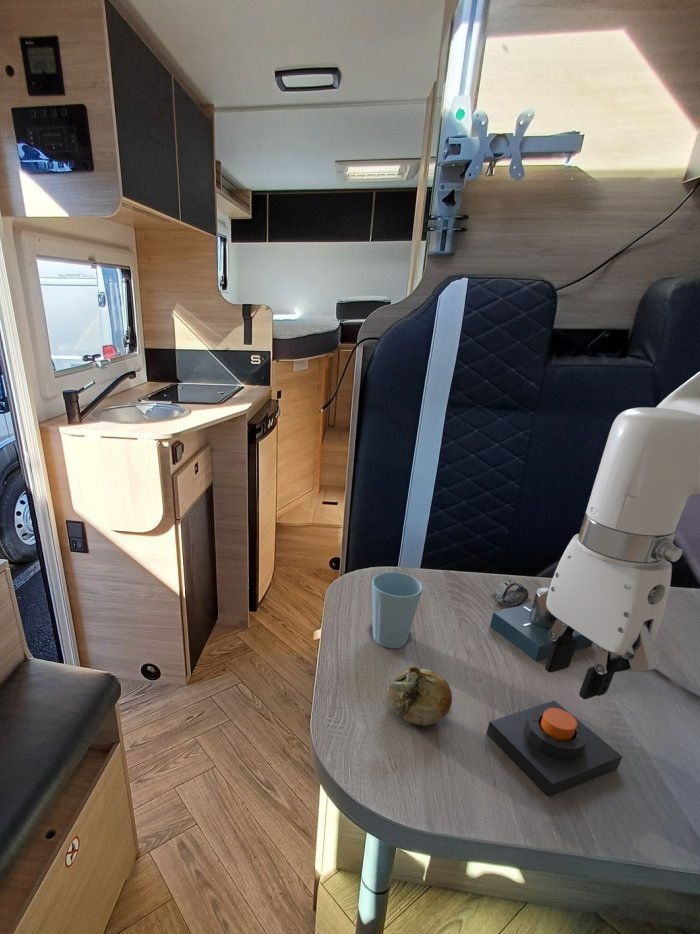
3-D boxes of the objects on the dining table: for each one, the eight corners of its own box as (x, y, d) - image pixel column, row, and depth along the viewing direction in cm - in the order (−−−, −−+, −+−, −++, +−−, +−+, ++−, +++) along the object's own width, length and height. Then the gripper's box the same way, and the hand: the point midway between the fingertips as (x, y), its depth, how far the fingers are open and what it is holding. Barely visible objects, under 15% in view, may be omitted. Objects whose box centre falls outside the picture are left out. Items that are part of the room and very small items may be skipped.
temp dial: (523, 616, 86) (530, 588, 84) (543, 611, 87) (551, 584, 85) (544, 630, 82) (552, 602, 80) (565, 625, 84) (573, 597, 81)
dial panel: (543, 613, 92) (547, 598, 91) (591, 645, 84) (597, 629, 83) (489, 626, 88) (493, 611, 87) (535, 661, 80) (540, 645, 79)
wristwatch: (512, 613, 94) (532, 594, 94) (495, 597, 93) (516, 578, 92) (503, 606, 97) (522, 587, 96) (486, 590, 96) (506, 571, 95)
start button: (555, 715, 65) (559, 704, 64) (580, 736, 62) (584, 725, 61) (533, 722, 64) (537, 712, 63) (557, 744, 61) (561, 733, 60)
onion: (439, 745, 65) (450, 696, 61) (378, 722, 68) (385, 674, 65) (452, 707, 71) (462, 661, 67) (395, 688, 74) (402, 642, 71)
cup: (362, 624, 88) (368, 570, 84) (407, 625, 88) (416, 571, 84) (369, 652, 81) (376, 596, 77) (418, 653, 82) (428, 597, 77)
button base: (550, 712, 70) (557, 689, 69) (617, 769, 62) (627, 745, 60) (485, 734, 67) (492, 710, 65) (547, 797, 58) (556, 772, 57)
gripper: (740, 569, 46) (667, 724, 54) (579, 503, 60) (540, 634, 68) (683, 584, 43) (616, 744, 51) (528, 511, 57) (495, 646, 65)
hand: (573, 680), depth 59 cm, fingers open, 4 cm apart
